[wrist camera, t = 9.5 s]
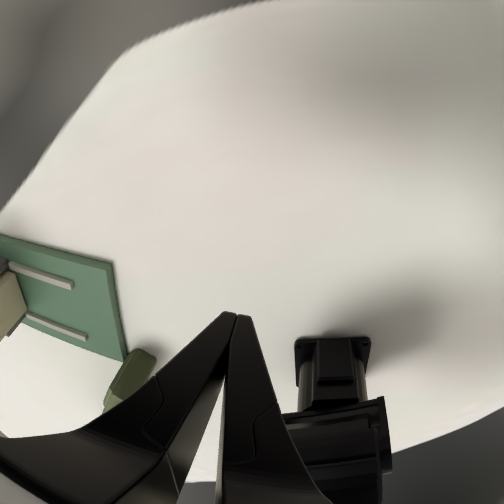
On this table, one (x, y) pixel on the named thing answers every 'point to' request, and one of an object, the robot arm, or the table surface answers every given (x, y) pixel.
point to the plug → (10, 302)
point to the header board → (66, 296)
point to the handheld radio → (129, 377)
